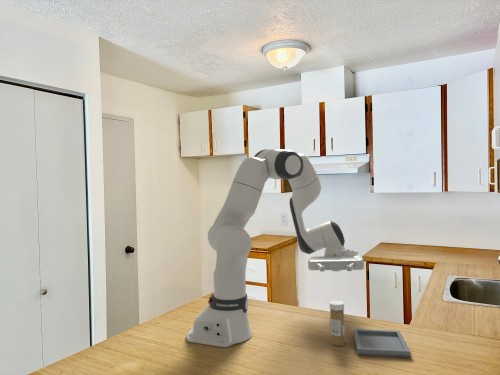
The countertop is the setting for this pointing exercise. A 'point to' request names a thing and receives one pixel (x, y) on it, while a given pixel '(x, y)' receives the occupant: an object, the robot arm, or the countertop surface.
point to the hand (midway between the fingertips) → (335, 269)
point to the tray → (380, 343)
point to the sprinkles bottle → (337, 323)
